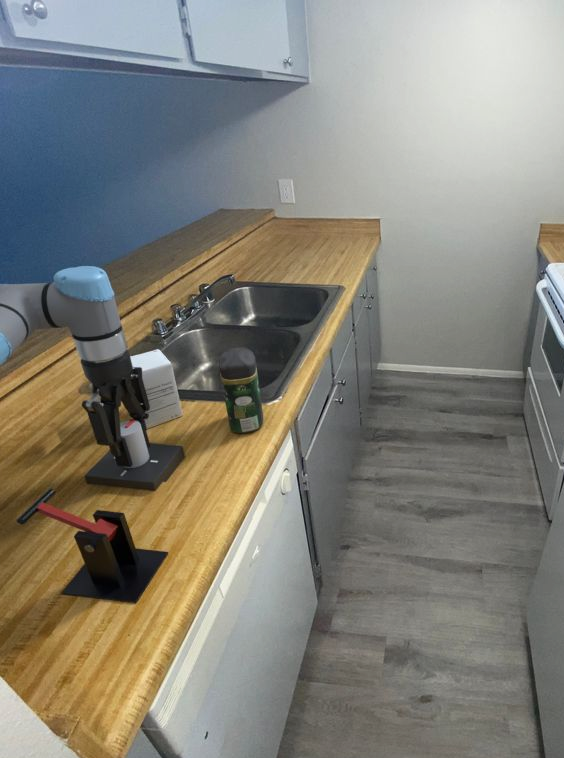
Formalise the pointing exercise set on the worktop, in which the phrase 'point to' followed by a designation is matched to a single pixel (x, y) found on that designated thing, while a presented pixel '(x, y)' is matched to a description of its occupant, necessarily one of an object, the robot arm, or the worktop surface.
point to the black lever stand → (113, 563)
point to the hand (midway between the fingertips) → (134, 455)
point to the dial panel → (138, 469)
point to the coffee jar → (241, 390)
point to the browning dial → (135, 442)
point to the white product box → (158, 387)
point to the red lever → (66, 517)
